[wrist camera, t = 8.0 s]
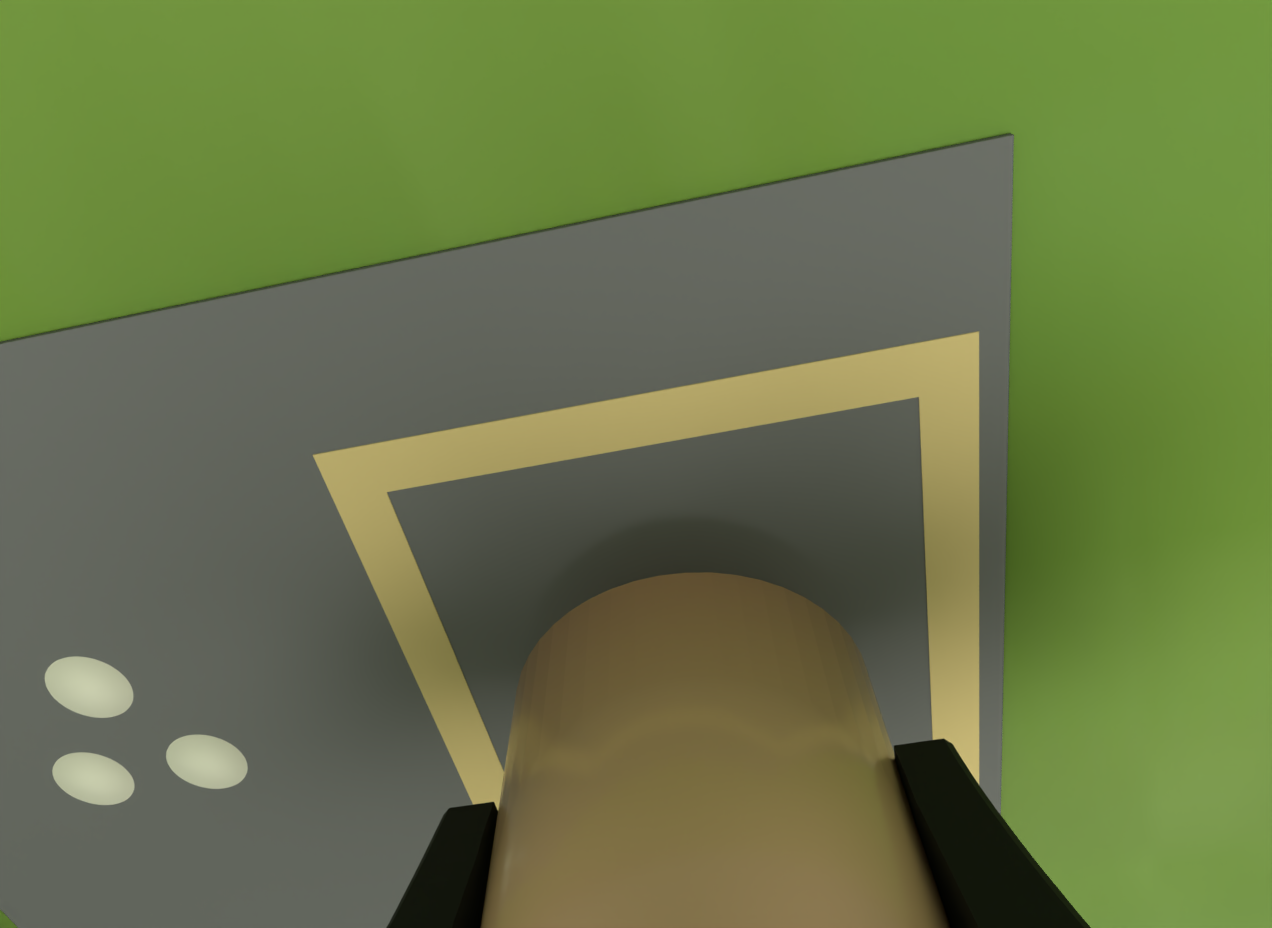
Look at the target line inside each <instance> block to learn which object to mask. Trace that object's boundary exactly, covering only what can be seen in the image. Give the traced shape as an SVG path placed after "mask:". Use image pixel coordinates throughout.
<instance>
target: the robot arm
mask: <svg viewBox="0 0 1272 928" xmlns="http://www.w3.org/2000/svg"><path fill="white" fill-rule="evenodd" d="M894 756H895V761H896V764H897V767H898V771H899V774H900V777H901V780H902V783H903V786H904V789H905V792H906V795H907V798H908V802H909V805H910V808H911V811H912V814H913V817H914V820H915V823H916V826H917V829H918V832H919V835H920V838H921V841H922V843H923V846H924V849H925V852H926V855H927V858H928V861H929V864H930V867H931V870H932V873H933V876H934V879H935V882H936V885H937V888H938V891H939V893H940V896H941V899H942V902H943V905H944V908H945V911H946V914H947V917H948V920H949V923H950V926H951V928H1091V927H1090V926H1089V925H1088V924H1087V923H1086V922H1085V920H1084V919H1083V918H1082V917H1081V916H1080V915H1079V913H1078V912H1077V911H1076V910H1075V909H1074V907H1073V906H1072V905H1071V904H1070V903H1069V901H1068V900H1067V899H1066V898H1065V896H1064V895H1063V894H1062V893H1061V892H1060V890H1059V889H1058V888H1057V887H1056V885H1055V884H1054V883H1053V882H1052V881H1051V879H1050V878H1049V877H1048V876H1047V874H1046V873H1045V872H1044V871H1043V870H1042V868H1041V867H1040V866H1039V865H1038V863H1037V862H1036V861H1035V860H1034V858H1033V857H1032V856H1031V855H1030V853H1029V852H1028V851H1027V849H1026V848H1025V847H1024V846H1023V844H1022V843H1021V842H1020V840H1019V839H1018V838H1017V836H1016V835H1015V834H1014V832H1013V831H1012V830H1011V828H1010V827H1009V826H1008V824H1007V823H1006V822H1005V820H1004V819H1003V818H1002V816H1001V815H1000V814H999V812H998V811H997V810H996V808H995V807H994V805H993V804H992V803H991V801H990V800H989V798H988V797H987V796H986V794H985V793H984V791H983V790H982V788H981V787H980V785H979V784H978V783H977V781H976V780H975V778H974V777H973V775H972V774H971V772H970V771H969V769H968V767H967V766H966V764H965V763H964V761H963V760H962V758H961V757H960V755H959V753H958V752H957V750H956V748H955V747H954V745H953V744H952V743H950V742H949V741H947V740H945V739H944V738H943V739H936V740H929V741H922V742H915V743H908V744H901V745H894ZM497 815H498V810H497V808H496V806H495V803H494V802H488V803H481V804H474V805H466V806H459V807H452V808H449V809H448V810H447V811H446V812H445V814H444V815H443V817H442V819H441V821H440V823H439V825H438V827H437V829H436V831H435V833H434V835H433V837H432V839H431V841H430V843H429V845H428V847H427V849H426V852H425V854H424V856H423V858H422V860H421V862H420V864H419V866H418V868H417V870H416V872H415V874H414V876H413V878H412V880H411V881H410V883H409V885H408V887H407V889H406V891H405V893H404V895H403V897H402V899H401V901H400V903H399V905H398V907H397V909H396V911H395V912H394V914H393V916H392V918H391V920H390V922H389V924H388V926H387V928H480V927H481V920H482V914H483V907H484V900H485V894H486V887H487V881H488V874H489V868H490V861H491V855H492V848H493V841H494V835H495V828H496V822H497Z"/></svg>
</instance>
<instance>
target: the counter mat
mask: <svg viewBox="0 0 1272 928" xmlns="http://www.w3.org/2000/svg"><path fill="white" fill-rule="evenodd" d="M1013 142H1014V135H1013V134H1011V133H1010V134H1005V135H1000V136H995V137H990V138H985V139H981V140H976V141H971V142H966V143H961V144H956V145H951V146H947V147H942V148H937V149H932V150H927V151H922V152H918V153H913V154H908V155H903V156H898V157H893V158H889V159H884V160H879V161H874V162H869V163H864V164H860V165H855V166H850V167H845V168H840V169H835V170H830V171H826V172H821V173H816V174H811V175H806V176H801V177H797V178H792V179H787V180H782V181H777V182H772V183H768V184H763V185H758V186H753V187H748V188H743V189H738V190H734V191H729V192H724V193H719V194H714V195H709V196H705V197H700V198H695V199H690V200H685V201H680V202H676V203H671V204H666V205H661V206H656V207H651V208H646V209H642V210H637V211H632V212H627V213H622V214H617V215H613V216H608V217H603V218H598V219H593V220H588V221H584V222H579V223H574V224H569V225H564V226H559V227H555V228H550V229H545V230H540V231H535V232H530V233H525V234H521V235H516V236H511V237H506V238H501V239H496V240H492V241H487V242H482V243H477V244H472V245H467V246H463V247H458V248H453V249H448V250H443V251H438V252H433V253H429V254H424V255H419V256H414V257H409V258H404V259H400V260H395V261H390V262H385V263H380V264H375V265H371V266H366V267H361V268H356V269H351V270H346V271H342V272H337V273H332V274H327V275H322V276H317V277H312V278H308V279H303V280H298V281H293V282H288V283H283V284H279V285H274V286H269V287H264V288H259V289H254V290H250V291H245V292H240V293H235V294H230V295H225V296H220V297H216V298H211V299H206V300H201V301H196V302H191V303H187V304H182V305H177V306H172V307H167V308H162V309H158V310H153V311H148V312H143V313H138V314H133V315H128V316H124V317H119V318H114V319H109V320H104V321H99V322H95V323H90V324H85V325H80V326H75V327H70V328H66V329H61V330H56V331H51V332H46V333H41V334H37V335H32V336H27V337H22V338H17V339H12V340H7V341H3V342H0V910H1V911H2V912H3V913H4V914H5V915H6V916H7V917H8V918H9V919H10V920H11V921H12V922H13V923H14V924H15V925H16V926H17V927H18V928H387V926H388V924H389V922H390V920H391V918H392V916H393V914H394V912H395V911H396V909H397V907H398V905H399V903H400V901H401V899H402V897H403V895H404V893H405V891H406V889H407V887H408V885H409V883H410V881H411V880H412V878H413V876H414V874H415V872H416V870H417V868H418V866H419V864H420V862H421V860H422V858H423V856H424V854H425V852H426V849H427V847H428V845H429V843H430V841H431V839H432V837H433V835H434V833H435V831H436V829H437V827H438V825H439V823H440V821H441V819H442V817H443V815H444V814H445V812H446V811H447V810H448V809H449V808H452V807H459V806H466V805H474V804H481V803H488V802H494V803H495V806H496V808H497V810H498V809H499V802H500V795H501V789H502V782H503V776H504V769H505V763H506V756H507V750H508V743H509V736H510V730H511V723H512V717H513V710H514V704H515V697H516V691H517V686H518V682H519V678H520V675H521V671H522V669H523V667H524V665H525V663H526V660H527V658H528V656H529V654H530V653H531V651H532V650H533V648H534V647H535V646H536V644H537V643H538V641H539V640H540V639H541V637H542V636H543V635H544V634H545V633H546V632H547V631H548V630H549V629H550V628H551V627H552V626H553V625H554V624H555V623H556V622H557V621H558V620H560V619H561V618H562V617H563V616H565V615H566V614H567V613H568V612H570V611H571V610H572V609H574V608H576V607H577V606H579V605H581V604H582V603H584V602H585V601H587V600H589V599H590V598H593V597H595V596H597V595H599V594H601V593H603V592H605V591H608V590H610V589H612V588H615V587H618V586H621V585H624V584H627V583H630V582H633V581H637V580H641V579H646V578H650V577H655V576H660V575H668V574H677V573H703V572H712V573H722V574H732V575H739V576H744V577H749V578H754V579H758V580H762V581H765V582H768V583H771V584H775V585H778V586H781V587H784V588H786V589H788V590H790V591H792V592H794V593H796V594H799V595H801V596H803V597H805V598H806V599H808V600H810V601H811V602H813V603H814V604H816V605H817V606H819V607H821V608H822V609H824V610H825V611H826V612H827V613H828V614H829V615H831V616H832V617H833V618H834V619H835V620H836V621H838V622H839V623H840V625H841V626H842V627H843V628H844V629H845V630H846V632H847V633H848V634H849V635H850V636H851V637H852V639H853V641H854V642H855V644H856V646H857V647H858V649H859V651H860V652H861V655H862V657H863V660H864V662H865V665H866V668H867V670H868V673H869V676H870V680H871V683H872V686H873V689H874V692H875V695H876V698H877V701H878V704H879V707H880V710H881V713H882V717H883V720H884V723H885V726H886V729H887V732H888V735H889V738H890V741H891V744H892V747H893V750H894V745H901V744H908V743H915V742H922V741H929V740H936V739H943V738H944V739H945V740H947V741H949V742H950V743H952V744H953V745H954V747H955V748H956V750H957V752H958V753H959V755H960V757H961V758H962V760H963V761H964V763H965V764H966V766H967V767H968V769H969V771H970V772H971V774H972V775H973V777H974V778H975V780H976V781H977V783H978V784H979V785H980V787H981V788H982V790H983V791H984V793H985V794H986V796H987V797H988V798H989V800H990V801H991V803H992V804H993V805H994V807H995V808H996V810H997V811H998V812H999V814H1000V815H1001V766H1002V714H1003V662H1004V610H1005V558H1006V506H1007V454H1008V402H1009V350H1010V298H1011V246H1012V194H1013Z"/></svg>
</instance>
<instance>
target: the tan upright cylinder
mask: <svg viewBox="0 0 1272 928" xmlns="http://www.w3.org/2000/svg"><path fill="white" fill-rule="evenodd" d="M480 928H951V926H950V923H949V920H948V917H947V914H946V911H945V908H944V905H943V902H942V899H941V896H940V893H939V891H938V888H937V885H936V882H935V879H934V876H933V873H932V870H931V867H930V864H929V861H928V858H927V855H926V852H925V849H924V846H923V843H922V841H921V838H920V835H919V832H918V829H917V826H916V823H915V820H914V817H913V814H912V811H911V808H910V805H909V802H908V798H907V795H906V792H905V789H904V786H903V783H902V780H901V777H900V774H899V771H898V767H897V764H896V761H895V756H894V750H893V747H892V744H891V741H890V738H889V735H888V732H887V729H886V726H885V723H884V720H883V717H882V713H881V710H880V707H879V704H878V701H877V698H876V695H875V692H874V689H873V686H872V683H871V680H870V676H869V673H868V670H867V668H866V665H865V662H864V660H863V657H862V655H861V652H860V651H859V649H858V647H857V646H856V644H855V642H854V641H853V639H852V637H851V636H850V635H849V634H848V633H847V632H846V630H845V629H844V628H843V627H842V626H841V625H840V623H839V622H838V621H836V620H835V619H834V618H833V617H832V616H831V615H829V614H828V613H827V612H826V611H825V610H824V609H822V608H821V607H819V606H817V605H816V604H814V603H813V602H811V601H810V600H808V599H806V598H805V597H803V596H801V595H799V594H796V593H794V592H792V591H790V590H788V589H786V588H784V587H781V586H778V585H775V584H771V583H768V582H765V581H762V580H758V579H754V578H749V577H744V576H739V575H732V574H722V573H712V572H703V573H677V574H668V575H660V576H655V577H650V578H646V579H641V580H637V581H633V582H630V583H627V584H624V585H621V586H618V587H615V588H612V589H610V590H608V591H605V592H603V593H601V594H599V595H597V596H595V597H593V598H590V599H589V600H587V601H585V602H584V603H582V604H581V605H579V606H577V607H576V608H574V609H572V610H571V611H570V612H568V613H567V614H566V615H565V616H563V617H562V618H561V619H560V620H558V621H557V622H556V623H555V624H554V625H553V626H552V627H551V628H550V629H549V630H548V631H547V632H546V633H545V634H544V635H543V636H542V637H541V639H540V640H539V641H538V643H537V644H536V646H535V647H534V648H533V650H532V651H531V653H530V654H529V656H528V658H527V660H526V663H525V665H524V667H523V669H522V671H521V675H520V678H519V682H518V686H517V691H516V697H515V704H514V710H513V717H512V723H511V730H510V736H509V743H508V750H507V756H506V763H505V769H504V776H503V782H502V789H501V795H500V802H499V809H498V815H497V822H496V828H495V835H494V841H493V848H492V855H491V861H490V868H489V874H488V881H487V887H486V894H485V900H484V907H483V914H482V920H481V927H480Z"/></svg>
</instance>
